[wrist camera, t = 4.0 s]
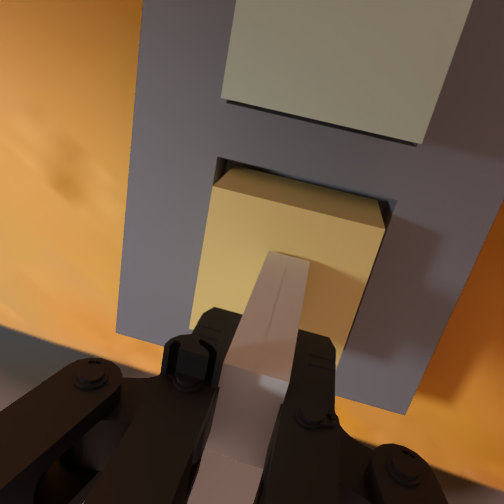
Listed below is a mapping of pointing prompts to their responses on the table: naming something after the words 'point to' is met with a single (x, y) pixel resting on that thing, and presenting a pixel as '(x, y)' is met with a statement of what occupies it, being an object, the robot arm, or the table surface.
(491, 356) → the table surface
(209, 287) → the ochre button
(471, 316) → the table surface
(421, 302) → the button board
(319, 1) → the sage button
